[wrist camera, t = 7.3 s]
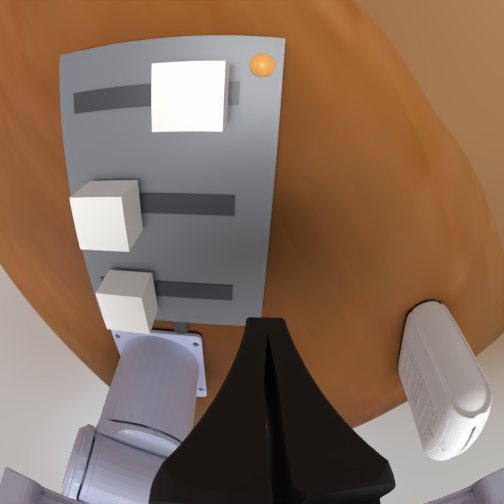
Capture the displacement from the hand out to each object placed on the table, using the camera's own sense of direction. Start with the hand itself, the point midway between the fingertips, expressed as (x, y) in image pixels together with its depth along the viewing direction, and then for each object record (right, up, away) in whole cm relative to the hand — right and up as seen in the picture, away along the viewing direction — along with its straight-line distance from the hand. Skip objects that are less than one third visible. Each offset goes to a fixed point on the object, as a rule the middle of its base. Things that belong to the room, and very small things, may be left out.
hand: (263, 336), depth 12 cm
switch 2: (-3, +11, +2) cm, 11 cm away
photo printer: (+15, -5, +14) cm, 22 cm away
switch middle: (-8, +6, +5) cm, 11 cm away
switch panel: (-5, +7, +7) cm, 11 cm away
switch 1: (-8, +1, +8) cm, 11 cm away
